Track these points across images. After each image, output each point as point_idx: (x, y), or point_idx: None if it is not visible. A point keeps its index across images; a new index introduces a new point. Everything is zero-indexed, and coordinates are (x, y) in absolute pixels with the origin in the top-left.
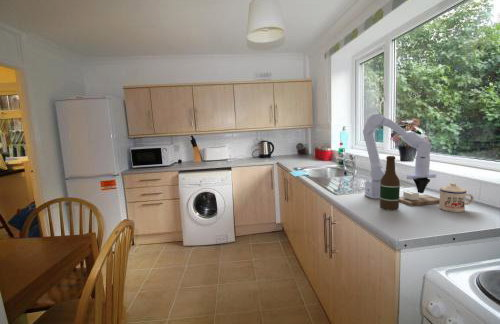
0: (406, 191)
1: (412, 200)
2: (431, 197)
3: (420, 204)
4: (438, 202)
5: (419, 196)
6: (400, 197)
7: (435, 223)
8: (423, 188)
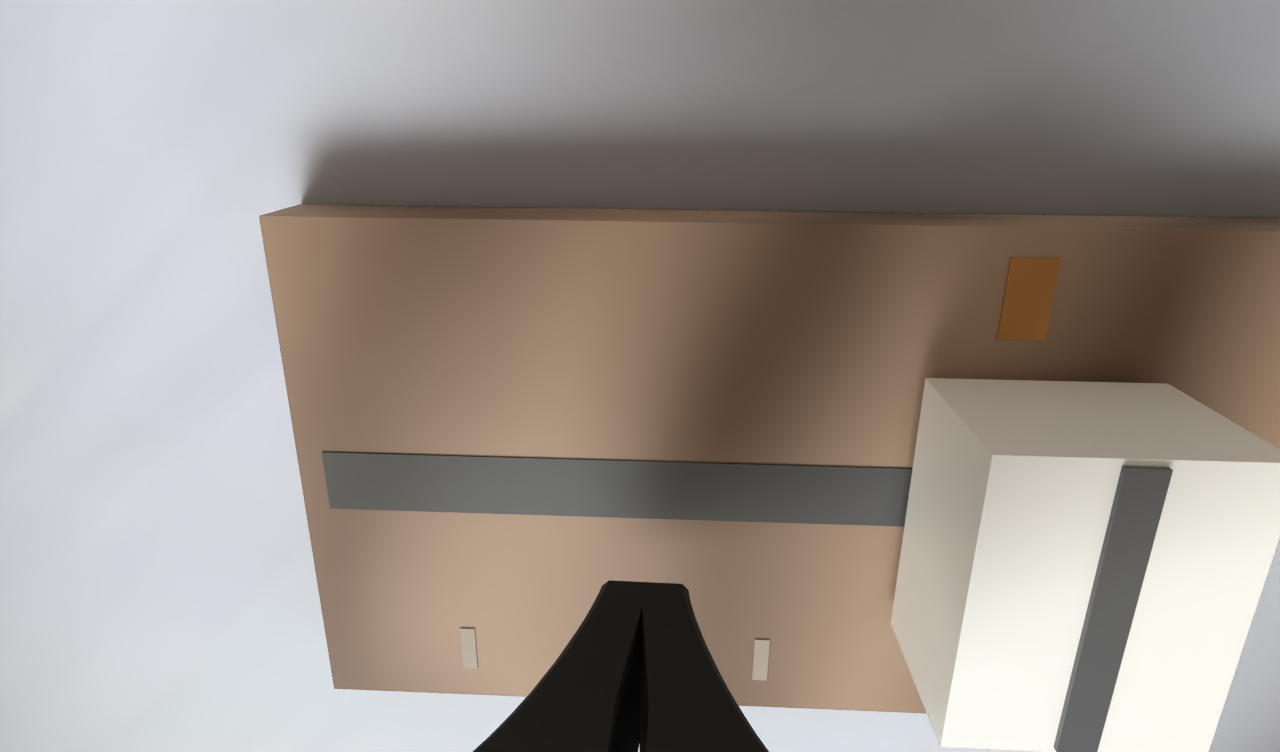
0: (1113, 740)
1: None
2: (407, 467)
3: (990, 217)
4: (450, 207)
5: None
6: None
7: None
8: (629, 667)
